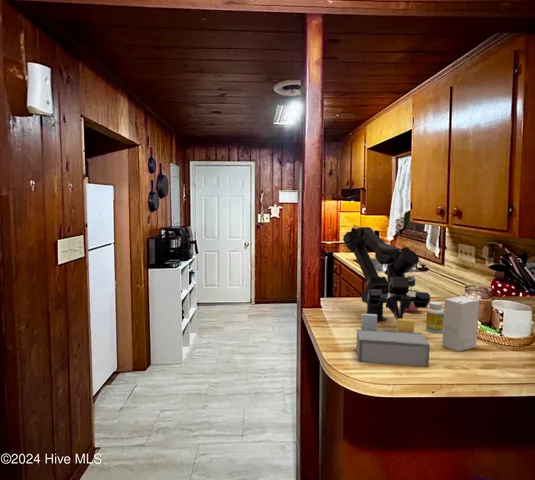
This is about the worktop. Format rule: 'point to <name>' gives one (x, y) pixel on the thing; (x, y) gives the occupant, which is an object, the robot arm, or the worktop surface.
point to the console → (392, 348)
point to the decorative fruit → (412, 307)
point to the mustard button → (405, 325)
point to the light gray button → (369, 322)
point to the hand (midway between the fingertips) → (399, 322)
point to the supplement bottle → (435, 317)
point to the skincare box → (460, 323)
